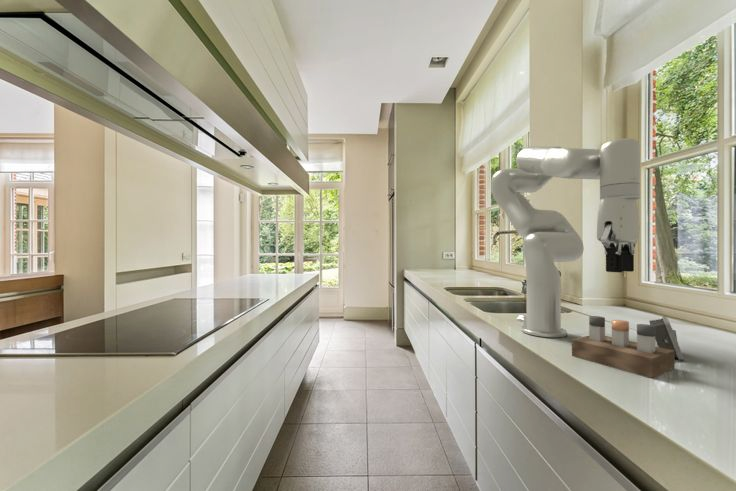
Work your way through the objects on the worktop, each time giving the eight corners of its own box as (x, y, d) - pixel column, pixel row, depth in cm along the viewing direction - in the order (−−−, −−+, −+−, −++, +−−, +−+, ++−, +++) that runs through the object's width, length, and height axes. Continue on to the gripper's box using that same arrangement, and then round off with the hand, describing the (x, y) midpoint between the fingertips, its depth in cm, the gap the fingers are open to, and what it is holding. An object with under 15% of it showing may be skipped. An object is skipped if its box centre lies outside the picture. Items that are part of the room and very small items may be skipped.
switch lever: (586, 339, 83) (586, 316, 83) (593, 338, 84) (593, 315, 84) (600, 343, 80) (600, 319, 80) (607, 341, 81) (607, 317, 81)
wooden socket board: (571, 355, 82) (571, 339, 82) (596, 348, 87) (596, 333, 87) (651, 378, 68) (651, 358, 68) (674, 368, 73) (674, 350, 73)
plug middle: (609, 345, 78) (608, 320, 78) (616, 343, 80) (615, 319, 80) (624, 348, 75) (624, 323, 75) (631, 346, 77) (631, 321, 77)
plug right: (634, 351, 74) (633, 325, 74) (641, 348, 75) (640, 323, 75) (651, 355, 71) (651, 328, 71) (658, 352, 73) (658, 326, 73)
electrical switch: (684, 362, 77) (678, 322, 78) (655, 359, 81) (649, 321, 81) (679, 352, 85) (674, 315, 85) (653, 350, 88) (648, 314, 89)
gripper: (619, 198, 85) (619, 269, 85) (582, 193, 77) (582, 272, 77) (655, 194, 78) (656, 271, 78) (619, 188, 70) (619, 274, 70)
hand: (619, 270), depth 78 cm, fingers open, 4 cm apart
